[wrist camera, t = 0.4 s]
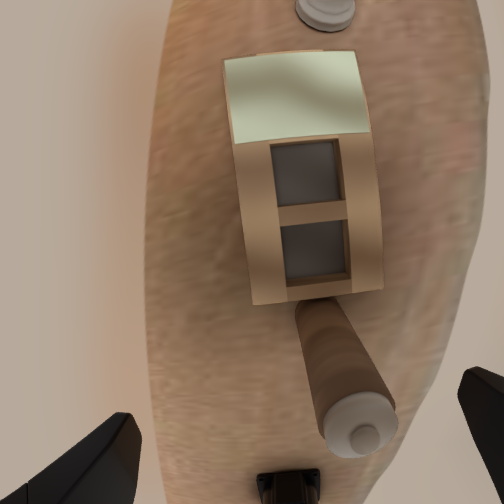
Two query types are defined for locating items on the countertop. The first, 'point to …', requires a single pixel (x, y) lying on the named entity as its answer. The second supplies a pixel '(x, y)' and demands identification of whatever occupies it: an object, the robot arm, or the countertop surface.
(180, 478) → the countertop surface
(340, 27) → the rook chess piece
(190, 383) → the countertop surface
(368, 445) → the pepper mill
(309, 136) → the board
